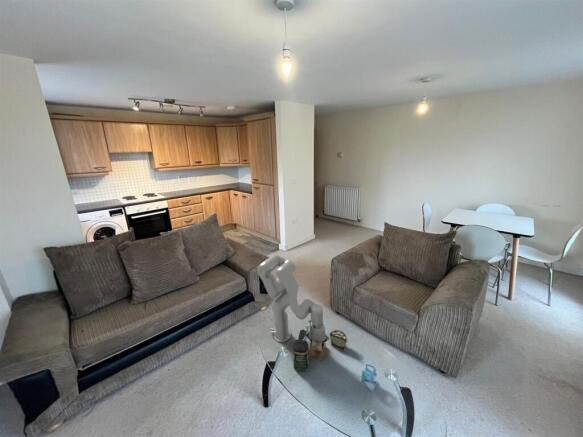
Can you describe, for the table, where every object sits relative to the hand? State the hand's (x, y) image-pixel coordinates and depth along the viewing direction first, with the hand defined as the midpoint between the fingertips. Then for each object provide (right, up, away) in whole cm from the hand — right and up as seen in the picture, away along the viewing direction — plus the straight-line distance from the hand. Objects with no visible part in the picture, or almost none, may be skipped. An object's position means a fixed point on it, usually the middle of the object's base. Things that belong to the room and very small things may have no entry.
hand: (317, 345), depth 155 cm
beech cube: (0, -1, 0) cm, 1 cm away
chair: (+27, -12, -19) cm, 35 cm away
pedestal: (0, -6, +2) cm, 7 cm away
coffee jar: (-11, -10, -6) cm, 16 cm away
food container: (+16, -4, +7) cm, 17 cm away
